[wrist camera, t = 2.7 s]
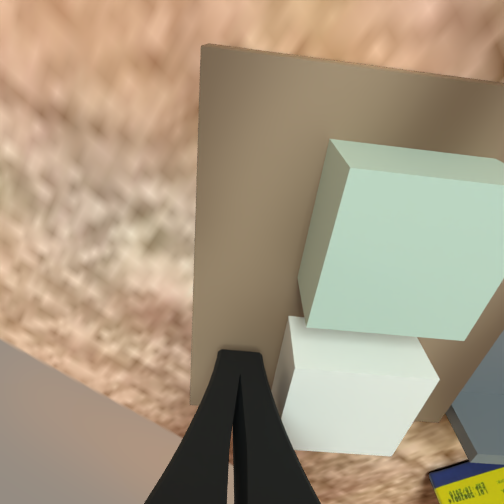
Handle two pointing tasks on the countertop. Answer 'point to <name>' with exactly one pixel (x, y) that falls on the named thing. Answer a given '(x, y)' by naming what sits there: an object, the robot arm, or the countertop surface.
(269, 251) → the tan flat slab
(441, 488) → the supplement box
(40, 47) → the countertop surface
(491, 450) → the tray
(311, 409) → the cream tile
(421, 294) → the sage tile
